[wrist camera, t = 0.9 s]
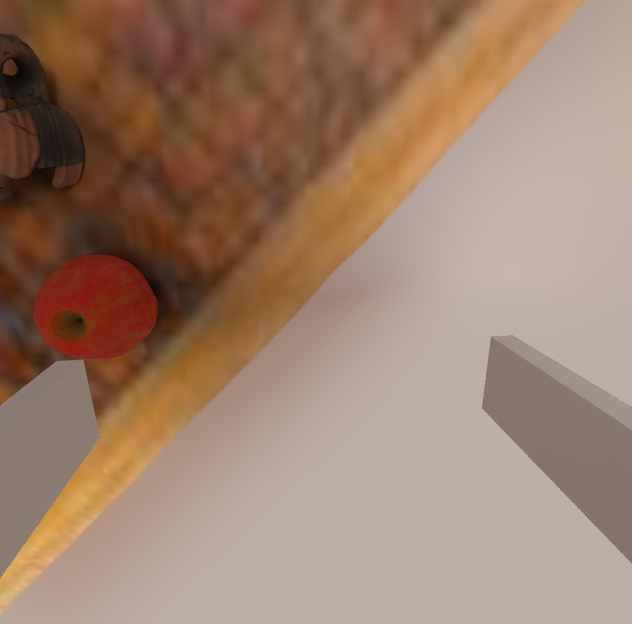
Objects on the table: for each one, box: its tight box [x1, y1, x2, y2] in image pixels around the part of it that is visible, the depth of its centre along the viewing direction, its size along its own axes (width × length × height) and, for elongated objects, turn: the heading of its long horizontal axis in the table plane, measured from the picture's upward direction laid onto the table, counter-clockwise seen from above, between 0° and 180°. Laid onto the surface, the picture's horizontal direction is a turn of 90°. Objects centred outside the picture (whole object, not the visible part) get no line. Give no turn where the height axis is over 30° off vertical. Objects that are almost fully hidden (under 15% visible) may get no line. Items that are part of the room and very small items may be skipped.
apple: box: [34, 254, 158, 358], centre depth 30 cm, size 8×8×11 cm
